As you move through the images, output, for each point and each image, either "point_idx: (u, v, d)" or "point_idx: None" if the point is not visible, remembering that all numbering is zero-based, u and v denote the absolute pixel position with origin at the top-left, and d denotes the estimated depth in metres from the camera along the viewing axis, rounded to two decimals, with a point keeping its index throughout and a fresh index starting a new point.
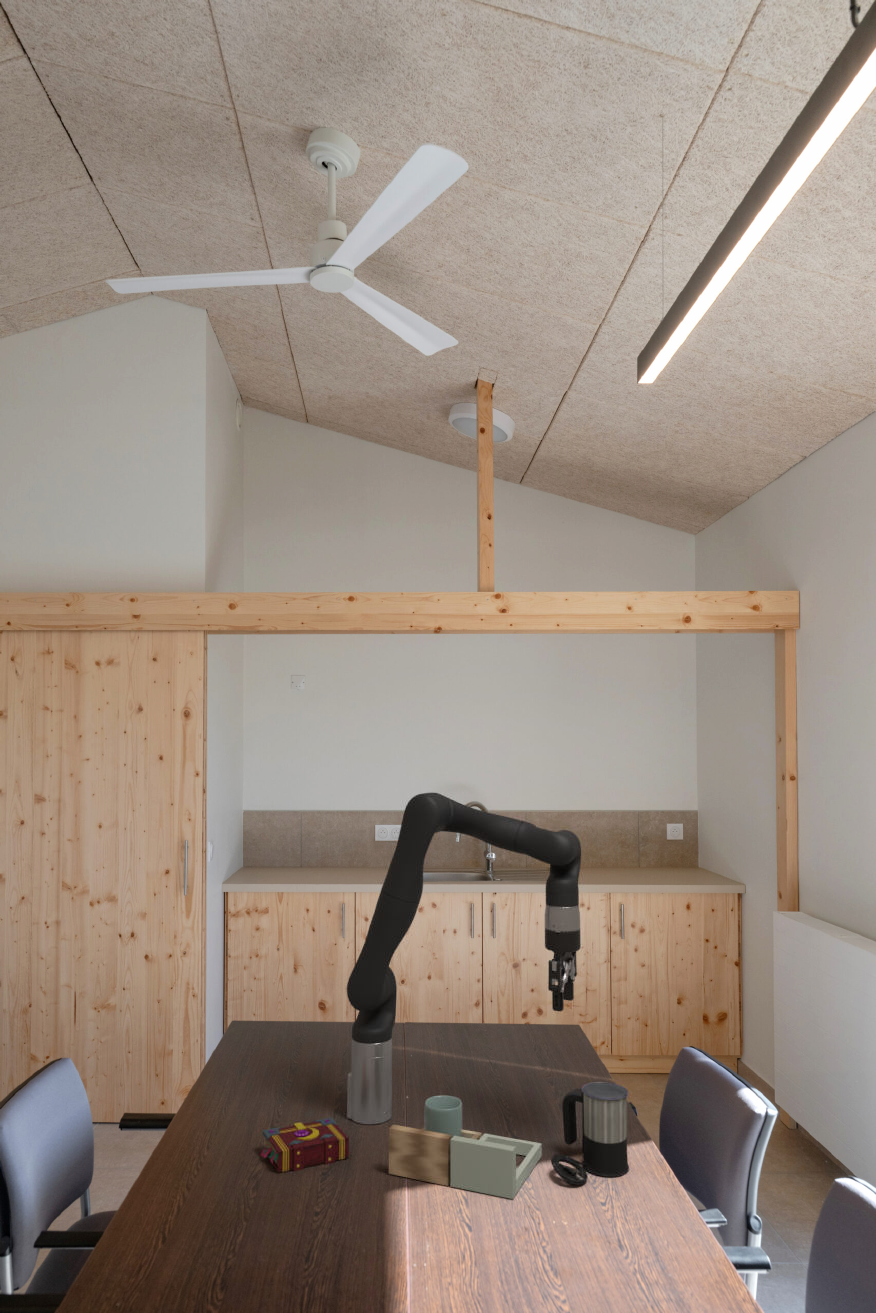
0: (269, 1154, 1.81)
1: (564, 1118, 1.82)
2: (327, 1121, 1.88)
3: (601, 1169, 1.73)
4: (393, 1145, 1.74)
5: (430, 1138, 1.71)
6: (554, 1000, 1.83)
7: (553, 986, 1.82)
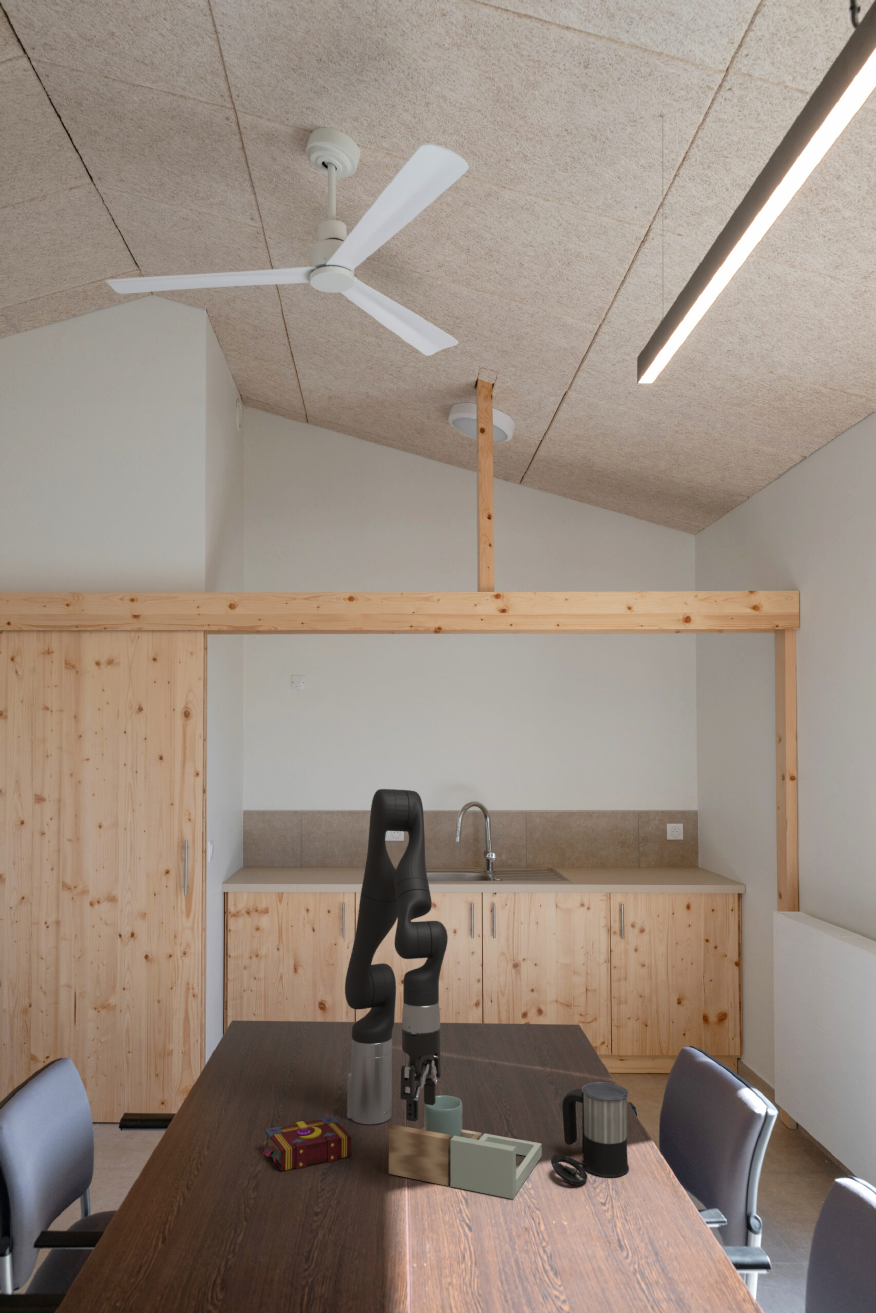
0: (271, 1153, 1.81)
1: (564, 1118, 1.82)
2: (329, 1120, 1.89)
3: (601, 1169, 1.73)
4: (393, 1145, 1.74)
5: (430, 1138, 1.71)
6: (408, 1109, 1.69)
7: (405, 1095, 1.68)
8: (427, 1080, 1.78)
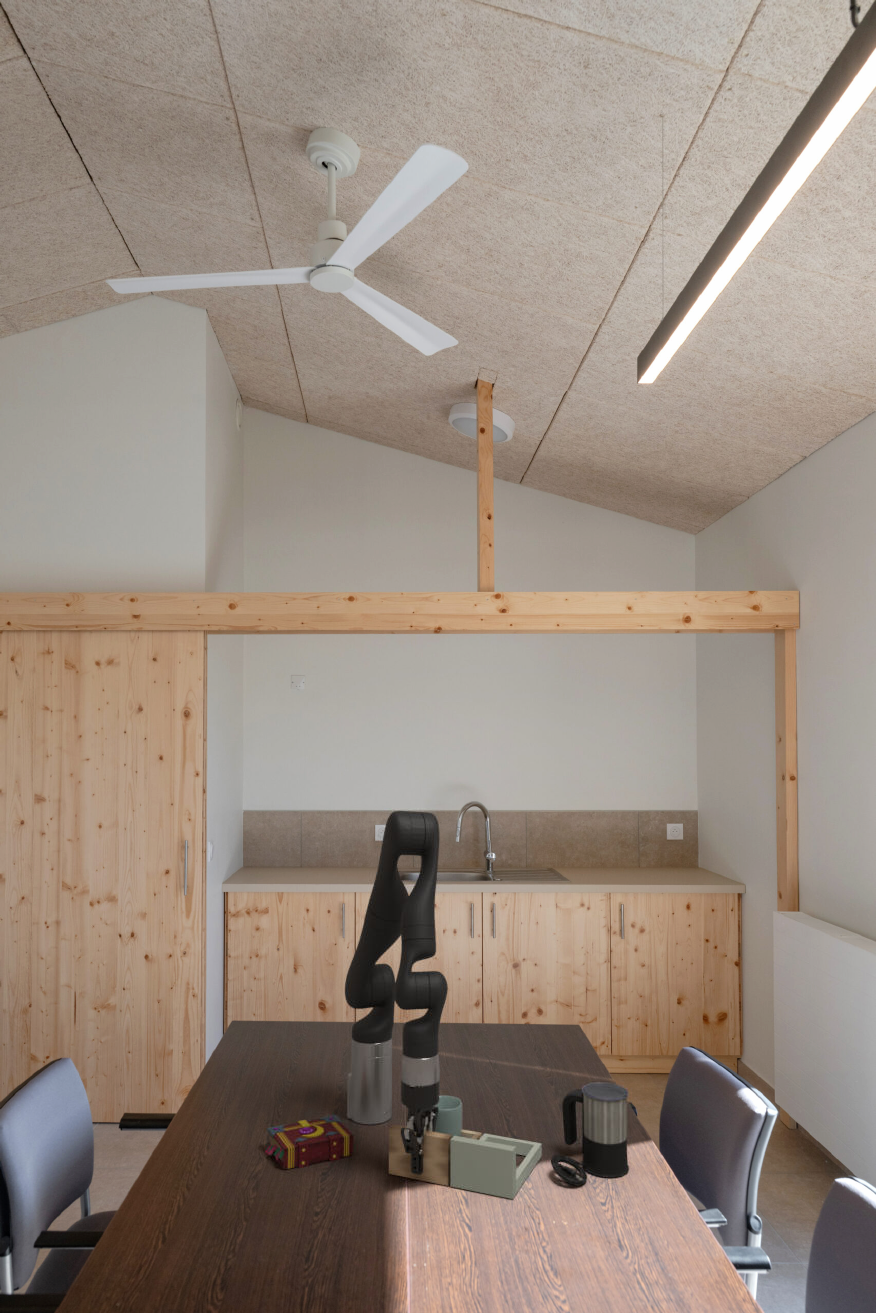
0: (274, 1151, 1.82)
1: (564, 1118, 1.82)
2: (331, 1119, 1.90)
3: (601, 1169, 1.73)
4: (393, 1145, 1.74)
5: (430, 1138, 1.71)
6: (412, 1162, 1.71)
7: (410, 1148, 1.69)
8: None
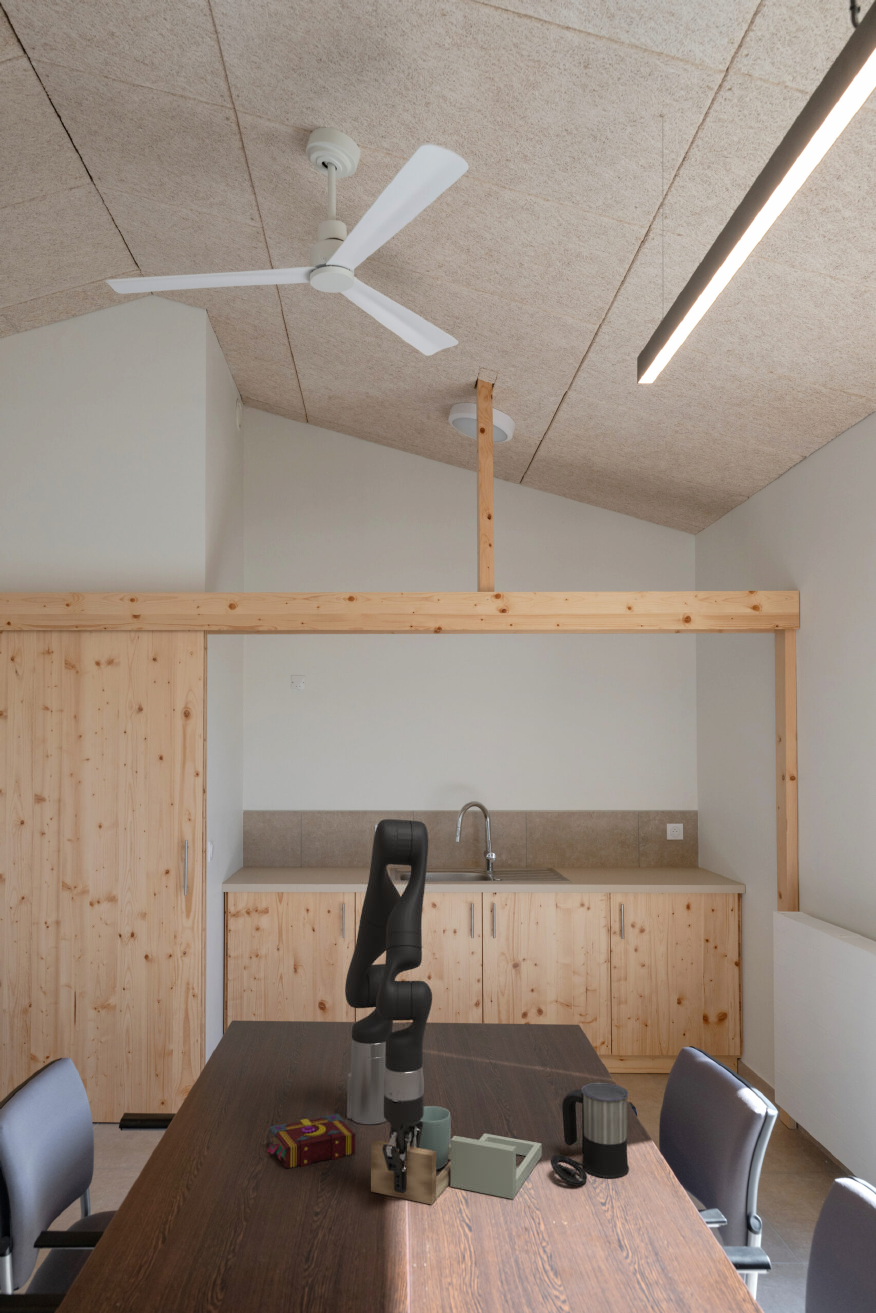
0: (276, 1150, 1.82)
1: (564, 1119, 1.82)
2: (333, 1117, 1.90)
3: (601, 1170, 1.73)
4: (376, 1161, 1.67)
5: (414, 1154, 1.64)
6: (395, 1180, 1.64)
7: (393, 1166, 1.62)
8: None
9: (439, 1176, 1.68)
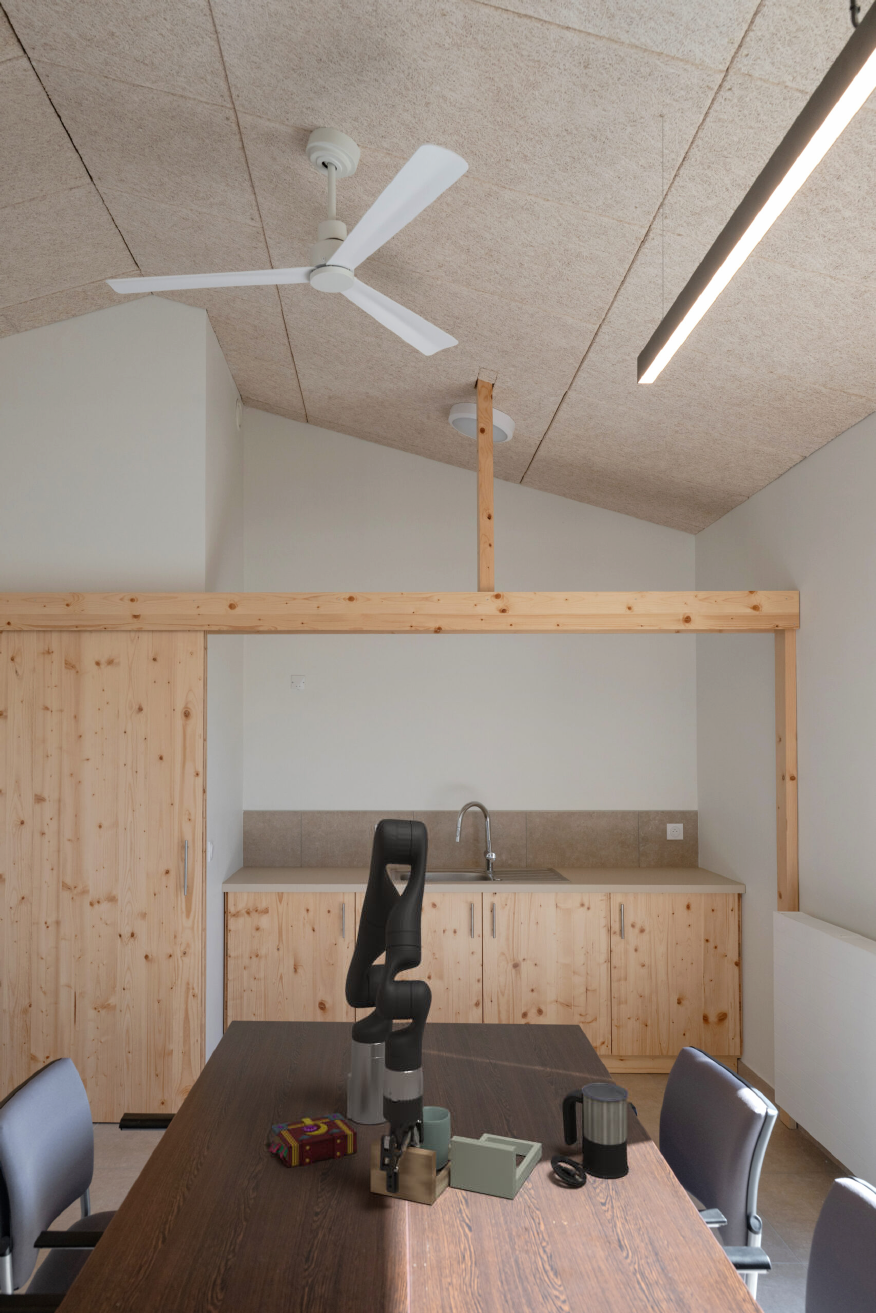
0: (278, 1149, 1.83)
1: (564, 1119, 1.82)
2: (334, 1116, 1.91)
3: (601, 1170, 1.73)
4: (375, 1161, 1.67)
5: (414, 1155, 1.64)
6: (387, 1181, 1.61)
7: (385, 1166, 1.60)
8: (409, 1146, 1.70)
9: (439, 1176, 1.68)
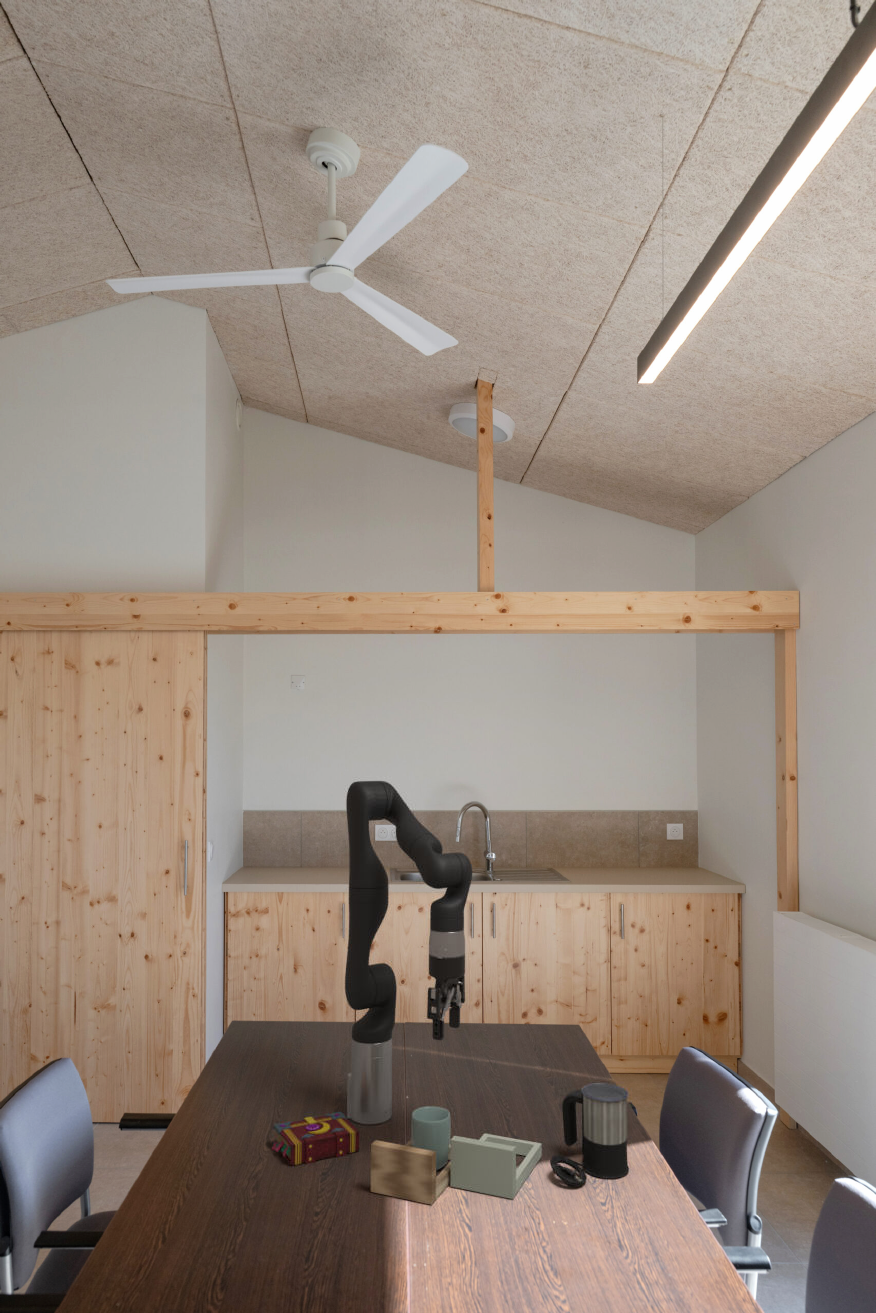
0: (281, 1148, 1.84)
1: (564, 1119, 1.81)
2: (337, 1115, 1.92)
3: (601, 1170, 1.73)
4: (375, 1161, 1.67)
5: (414, 1155, 1.64)
6: (434, 1028, 1.77)
7: (432, 1014, 1.76)
8: (452, 1004, 1.86)
9: (439, 1176, 1.68)
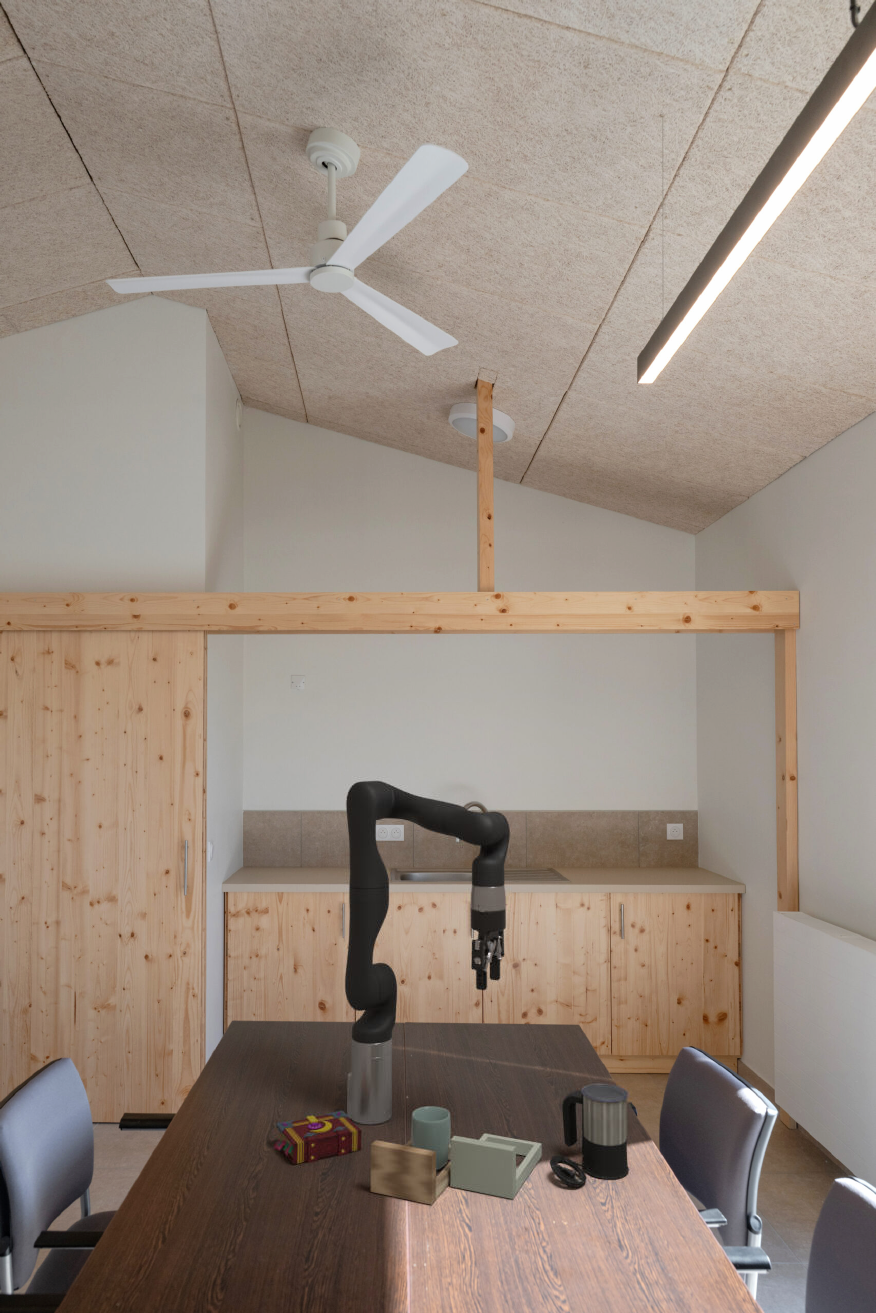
0: (283, 1146, 1.84)
1: (564, 1120, 1.81)
2: (339, 1114, 1.92)
3: (600, 1171, 1.73)
4: (375, 1161, 1.67)
5: (414, 1155, 1.64)
6: (477, 979, 1.84)
7: (476, 965, 1.83)
8: (492, 958, 1.93)
9: (439, 1176, 1.68)
